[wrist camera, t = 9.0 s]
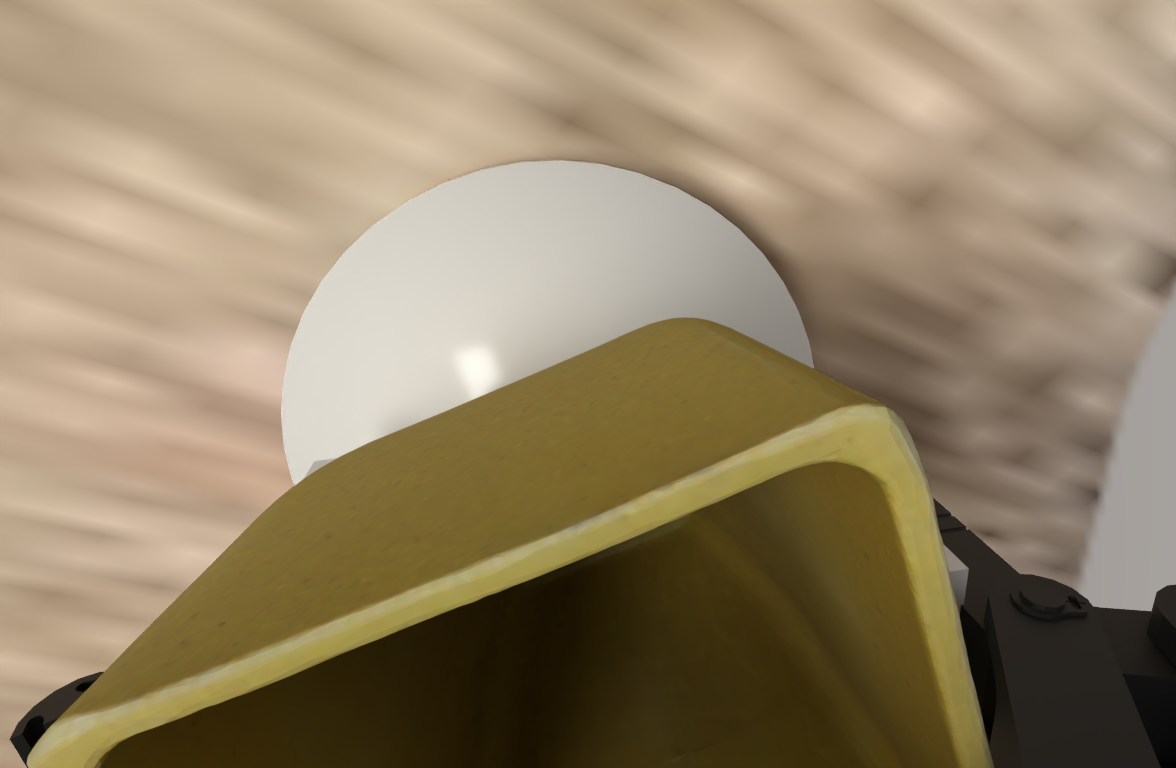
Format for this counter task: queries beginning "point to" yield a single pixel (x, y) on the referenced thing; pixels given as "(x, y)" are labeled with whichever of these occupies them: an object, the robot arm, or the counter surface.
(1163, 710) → the robot arm
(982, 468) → the counter surface
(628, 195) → the white flat disc
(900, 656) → the flower pot
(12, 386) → the counter surface
